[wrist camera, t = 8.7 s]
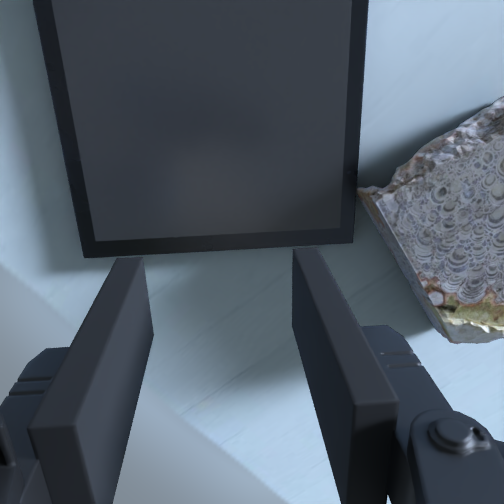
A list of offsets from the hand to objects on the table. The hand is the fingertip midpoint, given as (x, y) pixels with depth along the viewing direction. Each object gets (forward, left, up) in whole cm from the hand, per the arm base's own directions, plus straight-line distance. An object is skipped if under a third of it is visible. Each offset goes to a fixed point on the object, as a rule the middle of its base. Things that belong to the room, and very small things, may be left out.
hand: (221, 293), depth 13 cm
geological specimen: (+17, -4, -16) cm, 24 cm away
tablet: (0, +7, -16) cm, 18 cm away
